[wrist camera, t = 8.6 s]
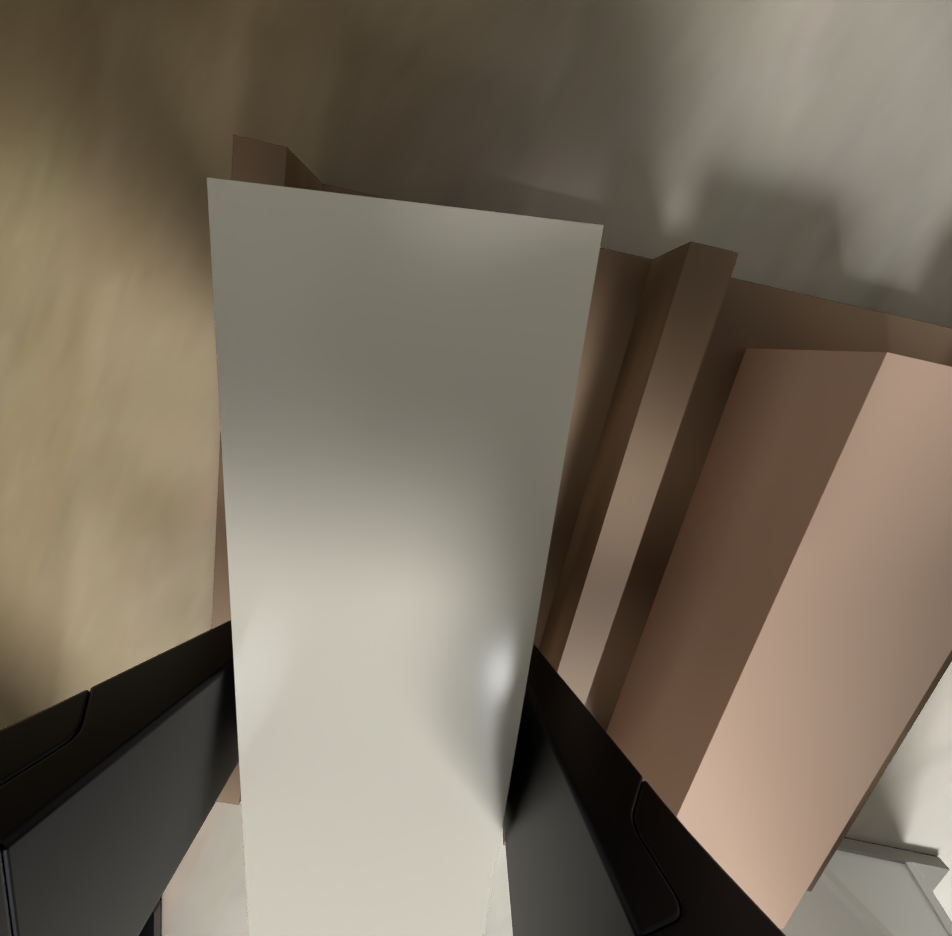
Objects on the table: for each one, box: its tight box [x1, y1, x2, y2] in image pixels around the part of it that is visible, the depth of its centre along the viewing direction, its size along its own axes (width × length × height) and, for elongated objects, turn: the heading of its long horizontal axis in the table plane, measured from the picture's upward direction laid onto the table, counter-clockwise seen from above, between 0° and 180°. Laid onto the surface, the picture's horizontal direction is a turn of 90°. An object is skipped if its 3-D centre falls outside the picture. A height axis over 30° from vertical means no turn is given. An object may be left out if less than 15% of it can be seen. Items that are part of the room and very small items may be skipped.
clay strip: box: [207, 177, 604, 936], centre depth 8 cm, size 14×4×4 cm, turn 174°
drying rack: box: [212, 135, 952, 891], centre depth 13 cm, size 17×19×3 cm
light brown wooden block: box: [606, 348, 952, 929], centre depth 11 cm, size 14×4×4 cm, turn 168°
